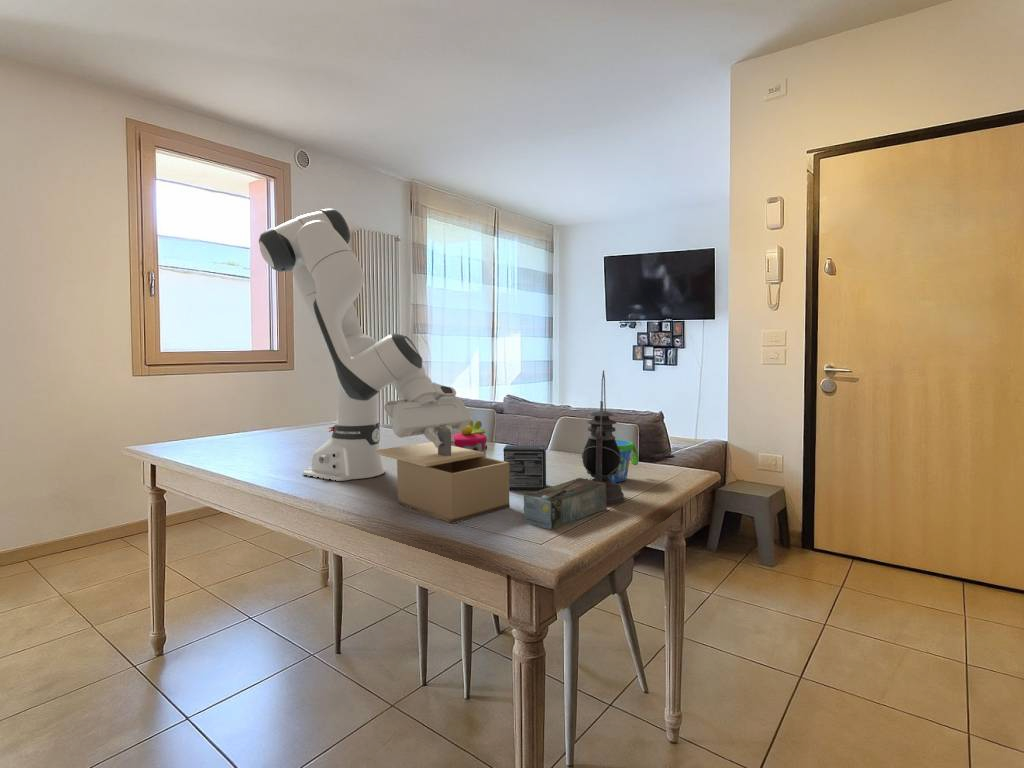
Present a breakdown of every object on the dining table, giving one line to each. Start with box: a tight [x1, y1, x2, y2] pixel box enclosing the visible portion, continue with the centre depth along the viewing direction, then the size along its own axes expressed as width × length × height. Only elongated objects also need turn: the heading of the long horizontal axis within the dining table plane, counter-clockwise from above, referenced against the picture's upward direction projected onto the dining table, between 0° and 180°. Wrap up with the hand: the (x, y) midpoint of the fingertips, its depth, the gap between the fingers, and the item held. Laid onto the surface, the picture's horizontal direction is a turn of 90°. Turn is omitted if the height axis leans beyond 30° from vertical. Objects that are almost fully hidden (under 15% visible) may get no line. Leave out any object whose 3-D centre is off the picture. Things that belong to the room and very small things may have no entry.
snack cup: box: [608, 439, 639, 483], centre depth 143 cm, size 16×10×10 cm
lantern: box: [581, 370, 625, 506], centre depth 125 cm, size 12×11×30 cm
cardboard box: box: [396, 456, 510, 524], centre depth 121 cm, size 20×16×10 cm
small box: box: [503, 444, 547, 491], centre depth 136 cm, size 11×6×10 cm, turn 84°
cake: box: [451, 419, 488, 458], centre depth 150 cm, size 10×11×15 cm
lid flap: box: [375, 430, 485, 467], centre depth 127 cm, size 21×17×6 cm
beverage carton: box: [523, 477, 608, 531], centre depth 113 cm, size 8×19×7 cm, turn 135°
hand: (445, 444), depth 122 cm, fingers closed on lid flap, 2 cm apart
